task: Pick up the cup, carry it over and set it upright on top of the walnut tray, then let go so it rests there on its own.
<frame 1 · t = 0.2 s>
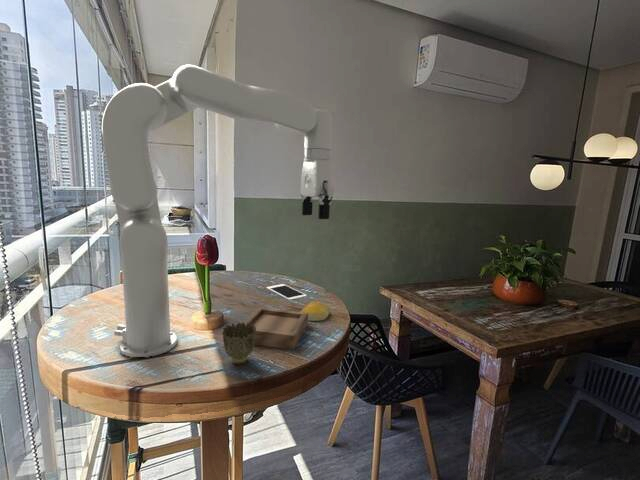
hand: (315, 216, 100), 31 cm above the table, tool pointing down, fingers open, 9 cm apart
cup: (239, 362, 78), on the table
cell phone: (286, 293, 128), on the table
walnut tray: (274, 334, 93), on the table
bread roll: (314, 316, 106), on the table
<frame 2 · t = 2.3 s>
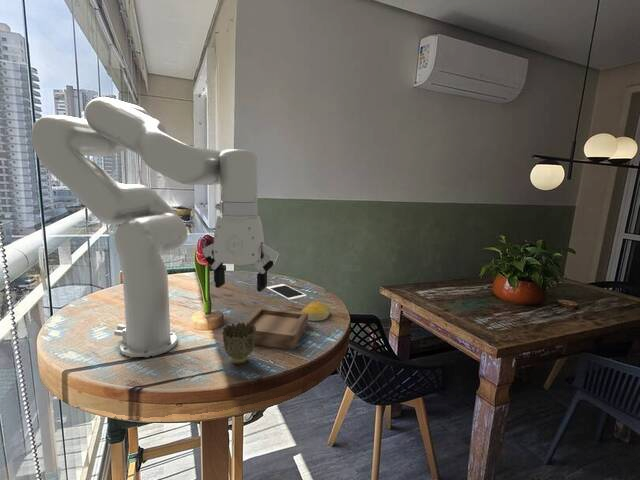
hand: (240, 287, 75), 18 cm above the table, tool pointing down, fingers open, 9 cm apart
nothing on the table moved.
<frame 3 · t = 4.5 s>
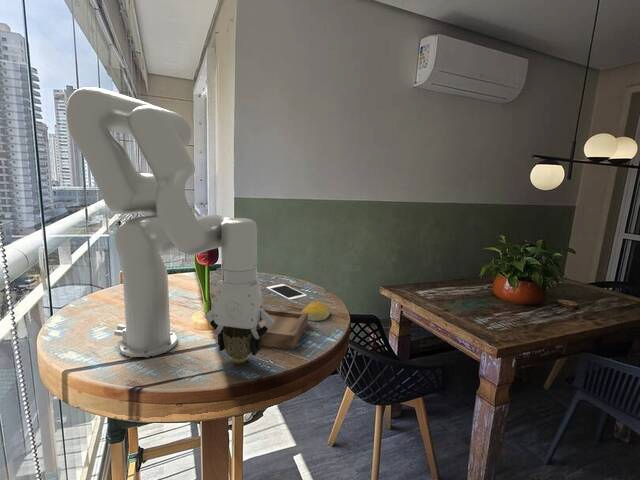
hand: (239, 349, 78), 3 cm above the table, tool pointing down, fingers closed on cup, 7 cm apart
cup: (239, 362, 78), on the table, touching gripper
everything else where it was.
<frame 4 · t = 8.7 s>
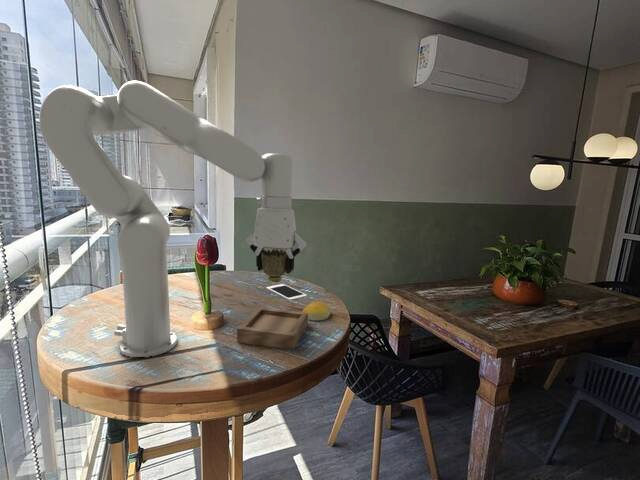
hand: (275, 270, 90), 18 cm above the table, tool pointing down, fingers closed on cup, 7 cm apart
cup: (274, 281, 91), point 15 cm above the table, touching gripper
everything else where it was.
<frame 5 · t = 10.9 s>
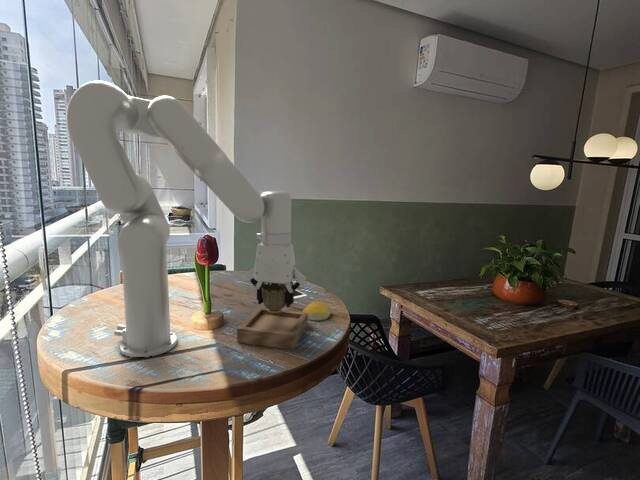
hand: (275, 303, 92), 8 cm above the table, tool pointing down, fingers closed on cup, 7 cm apart
cup: (275, 314, 92), point 5 cm above the table, touching gripper
everything else where it was.
when the fingers open (6 cm above the table, at t = 13.0 s): cup moves 1 cm, resting on walnut tray.
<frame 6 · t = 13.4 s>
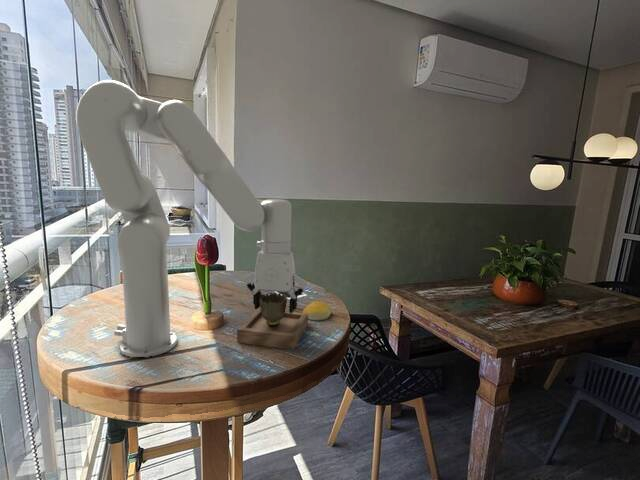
hand: (274, 309, 92), 7 cm above the table, tool pointing down, fingers open, 9 cm apart
cup: (272, 325, 93), point 2 cm above the table, touching walnut tray
walnut tray: (274, 335, 93), on the table, touching cup
everything else where it was.
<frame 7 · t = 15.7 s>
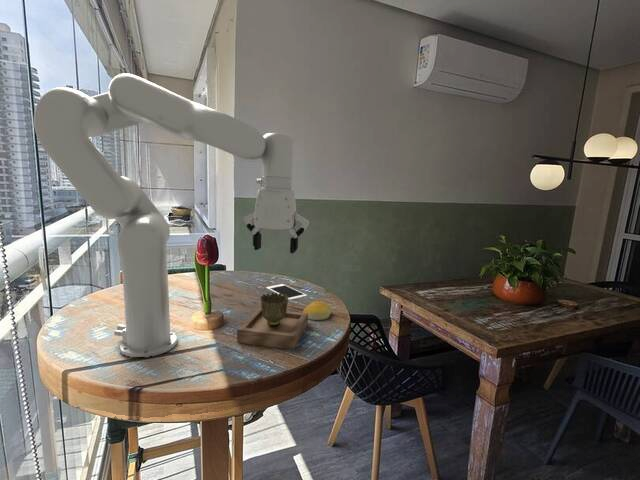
hand: (275, 250, 89), 23 cm above the table, tool pointing down, fingers open, 9 cm apart
nothing on the table moved.
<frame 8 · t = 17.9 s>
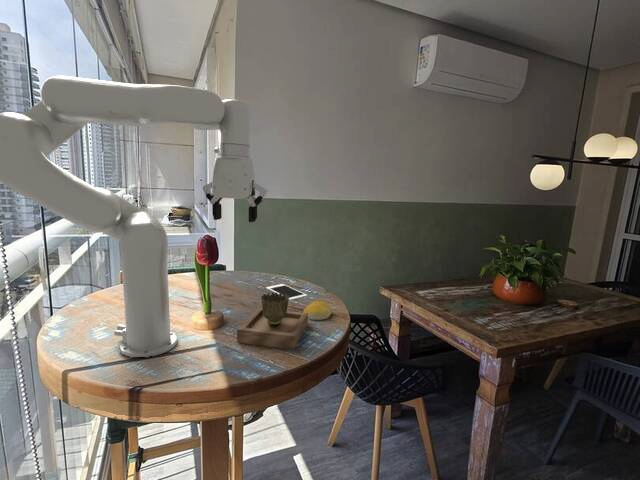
hand: (234, 220, 89), 30 cm above the table, tool pointing down, fingers open, 9 cm apart
at the end: cup inside the target area on the walnut tray (0.2 cm from its centre), point 2.9 cm above the walnut tray's base; cup tilted 3°; the gripper is holding nothing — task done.
